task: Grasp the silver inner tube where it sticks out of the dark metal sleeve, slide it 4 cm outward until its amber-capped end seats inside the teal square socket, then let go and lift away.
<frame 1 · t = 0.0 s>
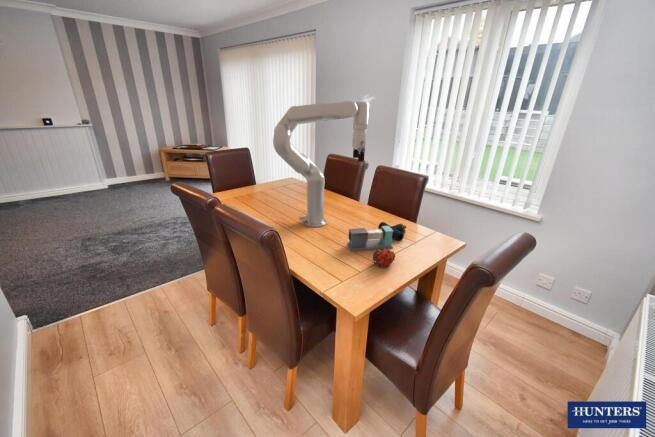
hand: (358, 159, 151), 37 cm above the table, tool pointing down, fingers open, 9 cm apart
outer sleeve: (357, 247, 136), resting on base board
inner tube: (366, 234, 134), point 7 cm above the table, slide at 0.0 cm
socket block: (385, 244, 139), resting on base board
dragon fruit: (383, 264, 123), on the table
base board: (369, 246, 137), on the table
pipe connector: (394, 234, 150), on the table
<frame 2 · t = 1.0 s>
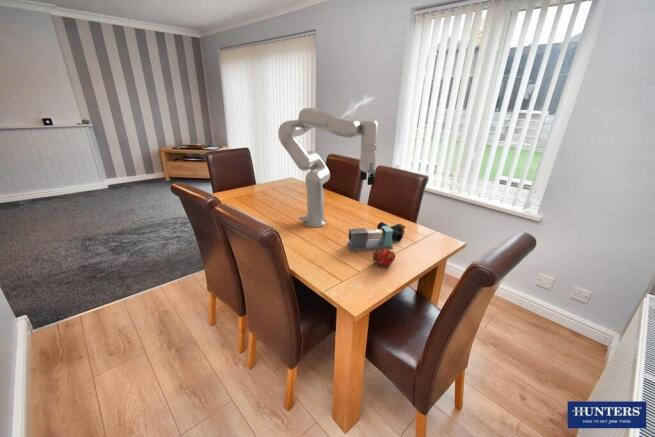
hand: (367, 182, 139), 29 cm above the table, tool pointing down, fingers open, 9 cm apart
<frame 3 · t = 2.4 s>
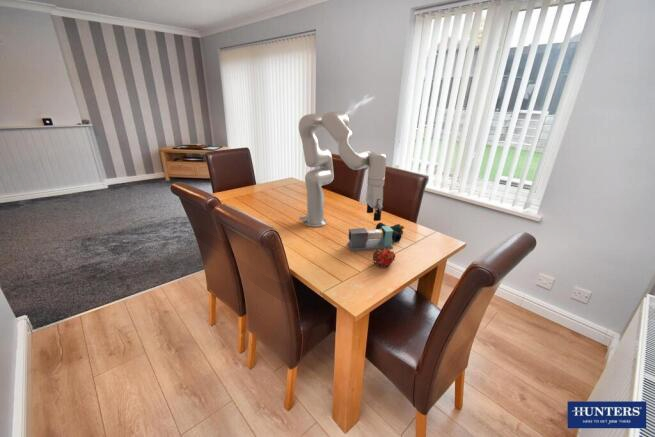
hand: (373, 216, 130), 16 cm above the table, tool pointing down, fingers open, 9 cm apart
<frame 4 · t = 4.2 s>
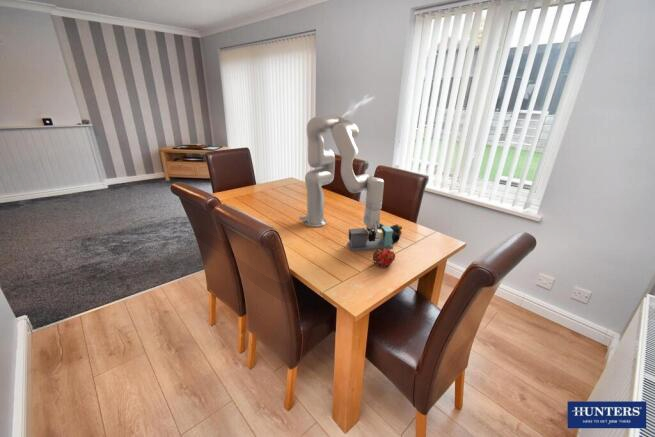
hand: (370, 238, 135), 4 cm above the table, tool pointing down, fingers closed on inner tube, 3 cm apart
inner tube: (366, 234, 134), point 6 cm above the table, slide at 0.0 cm, touching gripper
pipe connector: (390, 235, 149), on the table
everything else where it was.
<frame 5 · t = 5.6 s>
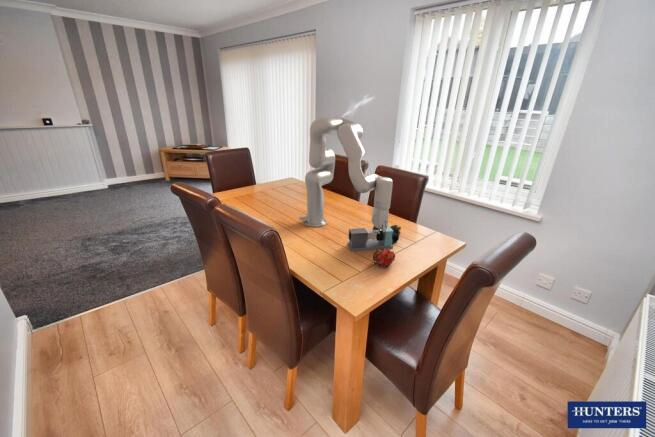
hand: (378, 238, 136), 4 cm above the table, tool pointing down, fingers closed on inner tube, 3 cm apart
inner tube: (374, 234, 135), point 7 cm above the table, slide at 4.2 cm, touching gripper
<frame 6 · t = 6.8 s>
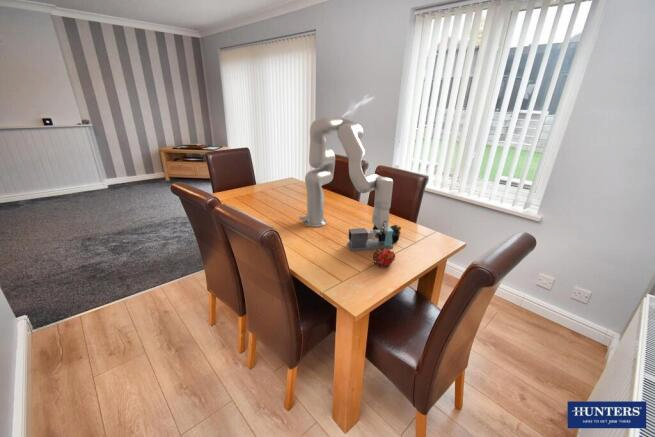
hand: (378, 237, 136), 5 cm above the table, tool pointing down, fingers open, 6 cm apart
inner tube: (374, 234, 135), point 6 cm above the table, slide at 4.0 cm
everything else where it was.
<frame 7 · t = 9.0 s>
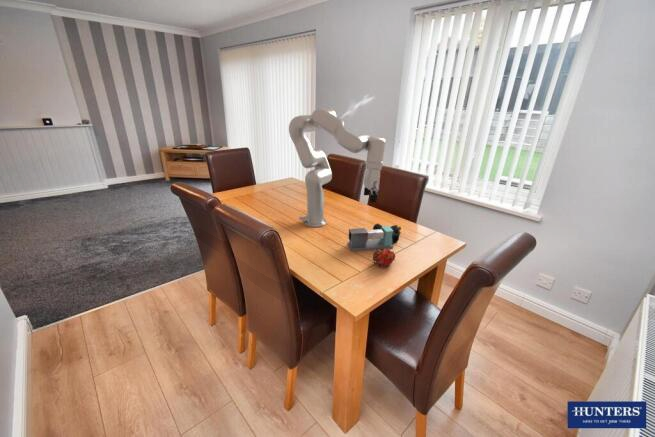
hand: (369, 198, 136), 22 cm above the table, tool pointing down, fingers open, 9 cm apart
nothing on the table moved.
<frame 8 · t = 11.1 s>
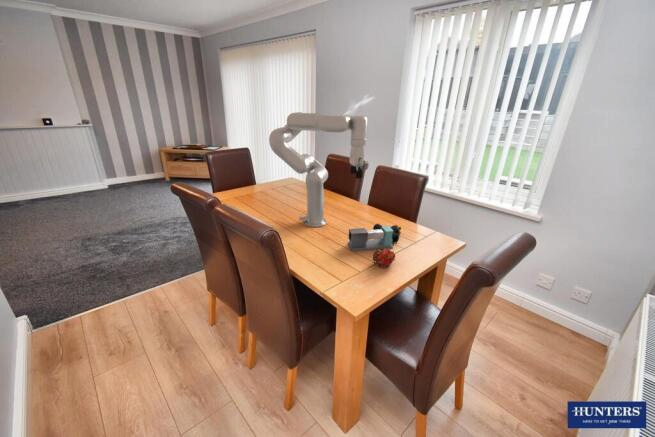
hand: (355, 175, 144), 30 cm above the table, tool pointing down, fingers open, 9 cm apart
nothing on the table moved.
at the end: inner tube slide at 4.0 cm; the gripper is holding nothing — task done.
